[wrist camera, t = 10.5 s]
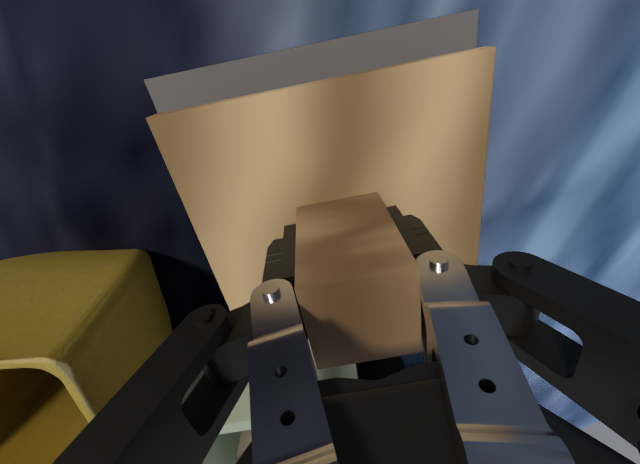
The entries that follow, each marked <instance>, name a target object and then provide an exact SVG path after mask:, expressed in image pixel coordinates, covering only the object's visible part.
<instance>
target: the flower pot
mask: <svg viewBox="0 0 640 464" xmlns="http://www.w3.org/2000/svg"><path fill="white" fill-rule="evenodd" d="M171 333H172V326H171V321H170V316H169V312H168V309H167V306H166V303H165V300H164V297H163V295H162V292H161V289H160V286H159V283H158V280H157V277H156V274H155V271H154V267H153V265H152V261H151V259H150V256H149V255H148V253H147V252H146V251H143V250H140V249H125V250H97V251H58V252H49V253H41V254H33V255H27V256H20V257H15V258H10V259H5V260H0V464H52V463H53V462H54V461H55V460H56V458H57V457H58V456H59V455H60V454H61V453H62V452H63V451H64V450H65V449H66V448H67V446H68V445H69V444H70V443H71V442H72V441H73V440H74V439H75V438H76V437H77V436H78V434H79V433H80V432H81V431H82V430H83V429H84V428H85V427H86V426H87V425H88V424H89V422H90V421H91V420H92V419H93V418H94V417H95V416H96V415H97V414H98V413H99V411H100V410H101V409H102V408H103V407H104V406H105V405H106V404H107V403H108V402H109V401H110V399H111V398H112V397H113V396H114V395H115V394H116V393H117V392H118V391H119V390H120V389H121V387H122V386H123V385H124V384H125V383H126V382H127V381H128V380H129V379H130V378H131V377H132V375H133V374H134V373H135V372H136V371H137V370H138V369H139V368H140V367H141V366H142V364H143V363H144V362H145V361H146V360H147V359H148V358H149V357H150V356H151V355H152V354H153V352H154V351H155V350H156V349H157V348H158V347H159V346H160V345H161V344H162V343H163V342H164V340H165V339H166V338H167V337H168V336H169V335H170V334H171Z"/></svg>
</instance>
